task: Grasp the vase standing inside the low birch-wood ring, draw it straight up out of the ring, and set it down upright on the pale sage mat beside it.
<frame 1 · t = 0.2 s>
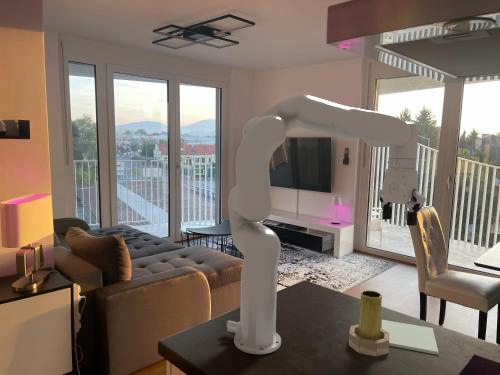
hand: (398, 222, 112), 31 cm above the table, tool pointing down, fingers open, 9 cm apart
ring: (368, 345, 100), on the table
vase: (368, 346, 100), resting in ring
mat: (407, 337, 105), on the table
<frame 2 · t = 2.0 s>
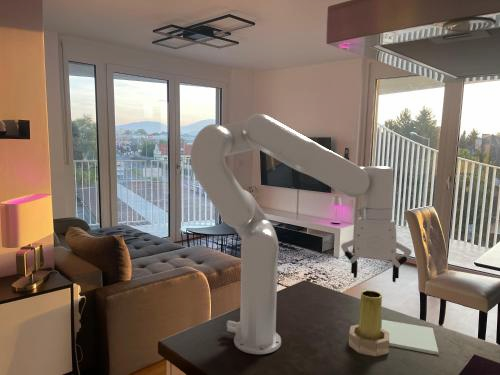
hand: (374, 278, 98), 18 cm above the table, tool pointing down, fingers open, 9 cm apart
nothing on the table moved.
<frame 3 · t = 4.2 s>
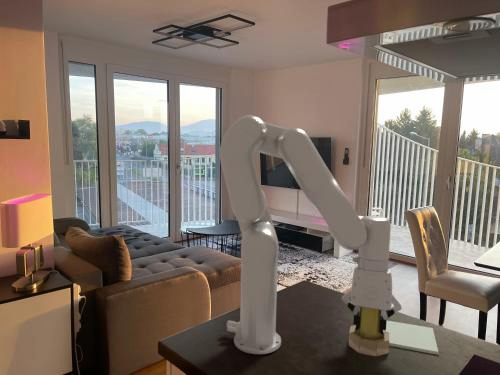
hand: (369, 329, 99), 5 cm above the table, tool pointing down, fingers closed on vase, 5 cm apart
vase: (368, 346, 100), resting in ring, touching gripper
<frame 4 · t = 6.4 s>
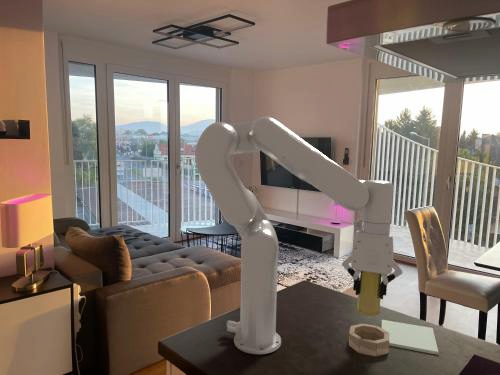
hand: (369, 294, 98), 14 cm above the table, tool pointing down, fingers closed on vase, 5 cm apart
vase: (368, 312, 99), point 9 cm above the table, touching gripper
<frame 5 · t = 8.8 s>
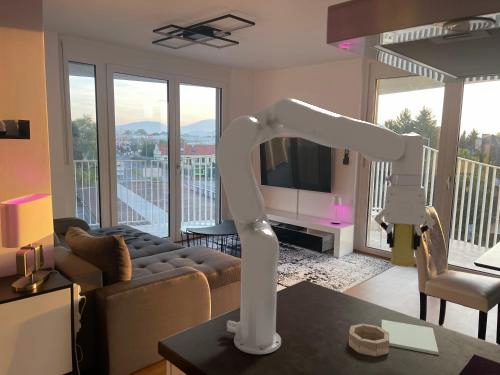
hand: (402, 247, 101), 26 cm above the table, tool pointing down, fingers closed on vase, 5 cm apart
vase: (402, 264, 101), point 21 cm above the table, touching gripper
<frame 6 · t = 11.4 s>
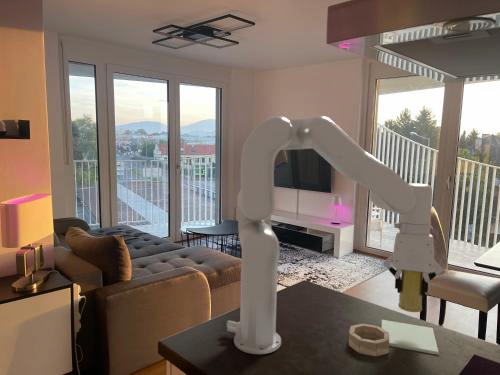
hand: (410, 292, 104), 13 cm above the table, tool pointing down, fingers closed on vase, 5 cm apart
vase: (410, 308, 104), point 8 cm above the table, touching gripper
when the fingers open (7 cm above the table, at t = 13.5 s): vase drops 1 cm, resting on mat.
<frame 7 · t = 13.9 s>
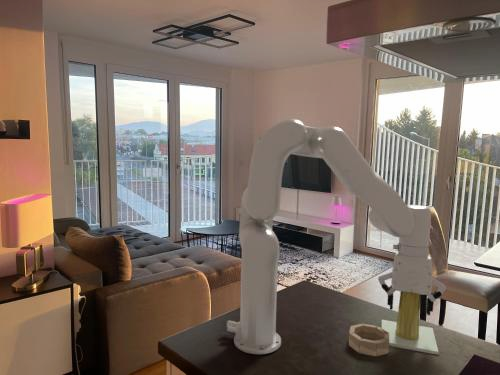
hand: (409, 310, 104), 8 cm above the table, tool pointing down, fingers open, 9 cm apart
vase: (407, 335, 105), point 1 cm above the table, touching mat
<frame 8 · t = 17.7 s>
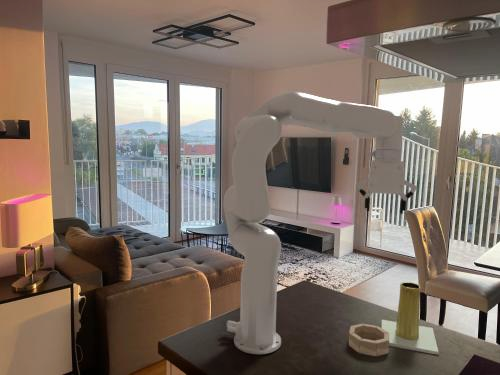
hand: (384, 211, 115), 33 cm above the table, tool pointing down, fingers open, 9 cm apart
nothing on the table moved.
at the end: vase inside the target area on the mat (0.2 cm from its centre), point 0.6 cm above the mat's base; vase tilted 0°; the gripper is holding nothing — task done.
